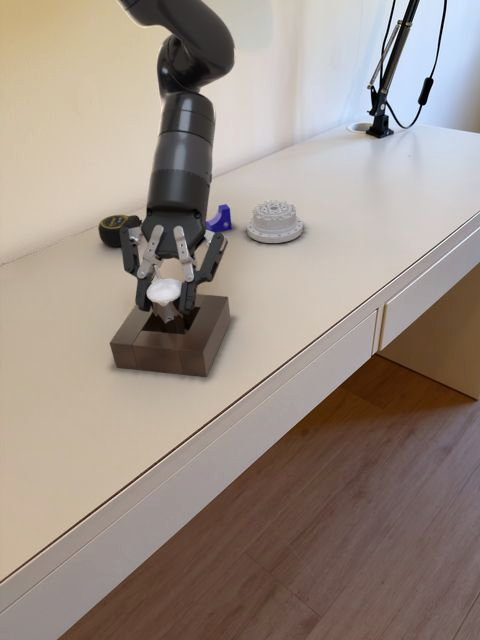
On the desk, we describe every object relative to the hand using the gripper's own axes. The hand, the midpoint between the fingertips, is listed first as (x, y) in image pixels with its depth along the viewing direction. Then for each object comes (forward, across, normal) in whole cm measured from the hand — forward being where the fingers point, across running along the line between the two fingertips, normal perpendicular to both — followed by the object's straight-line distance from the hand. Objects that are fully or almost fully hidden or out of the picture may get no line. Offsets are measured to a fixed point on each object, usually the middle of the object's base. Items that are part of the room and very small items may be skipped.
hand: (164, 311), depth 65 cm
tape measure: (-16, -19, +25) cm, 35 cm away
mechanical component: (-20, +7, +30) cm, 37 cm away
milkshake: (+3, 0, +6) cm, 6 cm away
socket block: (+3, 0, +6) cm, 7 cm away
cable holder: (-19, -4, +28) cm, 34 cm away
